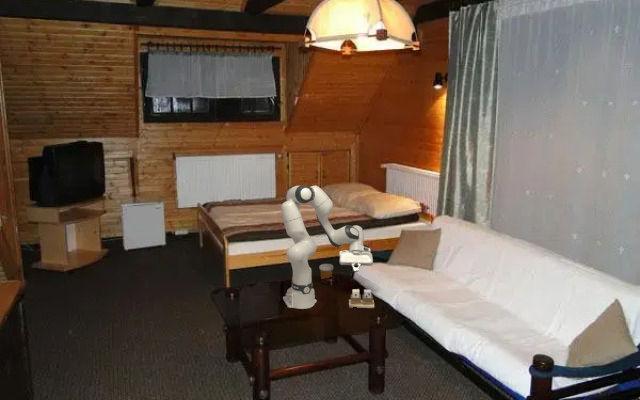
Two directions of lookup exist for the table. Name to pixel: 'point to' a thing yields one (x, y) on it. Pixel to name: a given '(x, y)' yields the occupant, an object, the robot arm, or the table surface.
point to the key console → (361, 302)
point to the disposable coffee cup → (326, 270)
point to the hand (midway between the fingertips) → (355, 271)
